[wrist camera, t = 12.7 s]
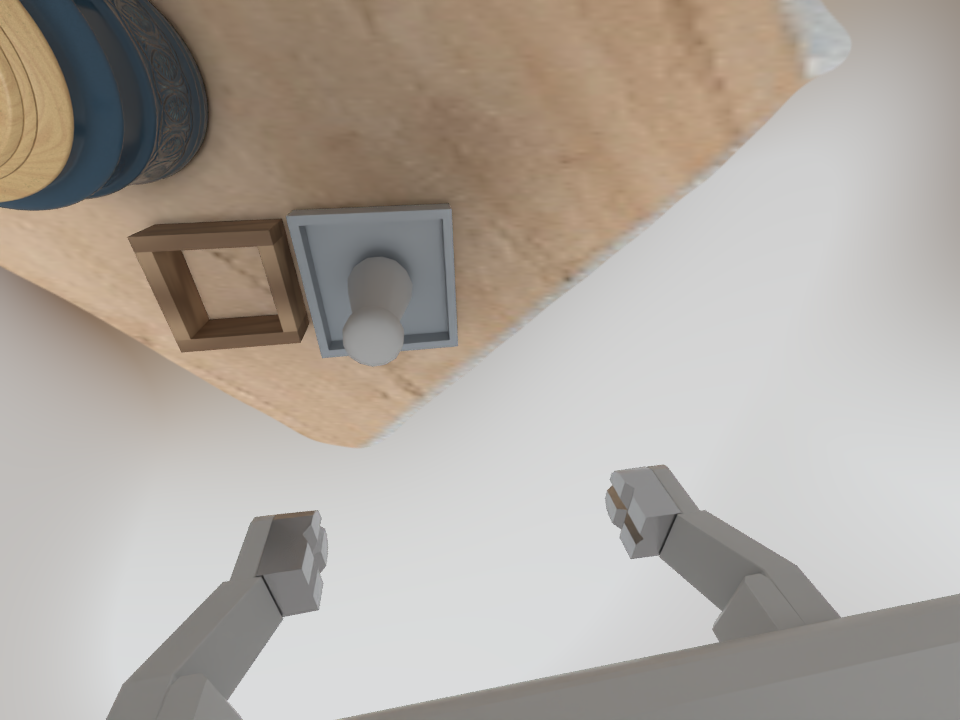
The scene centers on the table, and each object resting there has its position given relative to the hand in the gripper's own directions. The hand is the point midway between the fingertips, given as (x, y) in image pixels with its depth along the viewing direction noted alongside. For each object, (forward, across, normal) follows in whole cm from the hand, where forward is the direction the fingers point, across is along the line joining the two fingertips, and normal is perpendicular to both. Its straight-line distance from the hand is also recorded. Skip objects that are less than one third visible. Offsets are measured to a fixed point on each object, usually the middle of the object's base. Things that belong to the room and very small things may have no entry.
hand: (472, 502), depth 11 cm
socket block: (+31, +17, +5) cm, 36 cm away
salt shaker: (+31, +4, +5) cm, 32 cm away
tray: (+31, +4, +5) cm, 32 cm away
